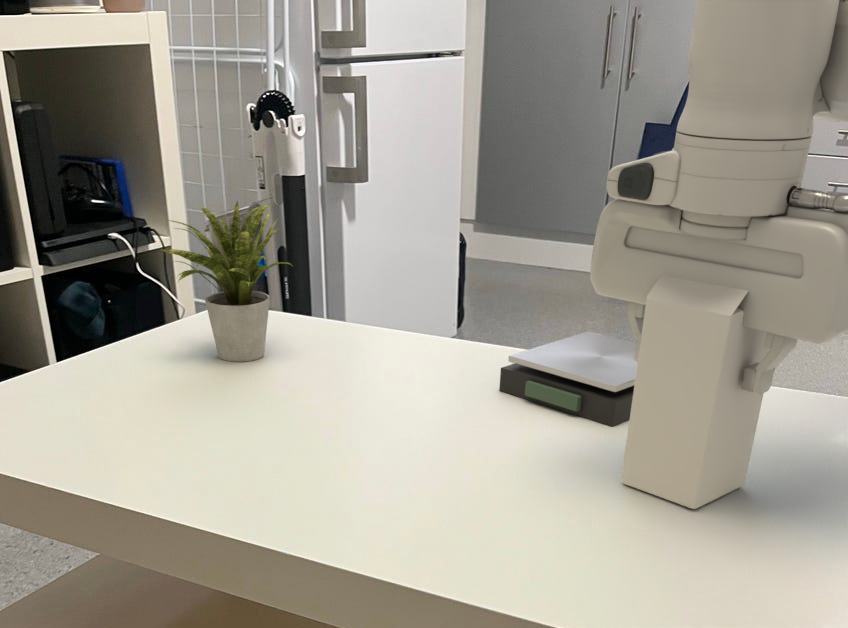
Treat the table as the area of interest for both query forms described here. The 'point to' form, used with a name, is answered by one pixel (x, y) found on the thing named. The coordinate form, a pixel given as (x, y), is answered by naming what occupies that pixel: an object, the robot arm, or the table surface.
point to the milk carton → (692, 394)
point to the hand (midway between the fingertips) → (699, 375)
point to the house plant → (235, 284)
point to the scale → (567, 394)
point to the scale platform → (585, 360)
